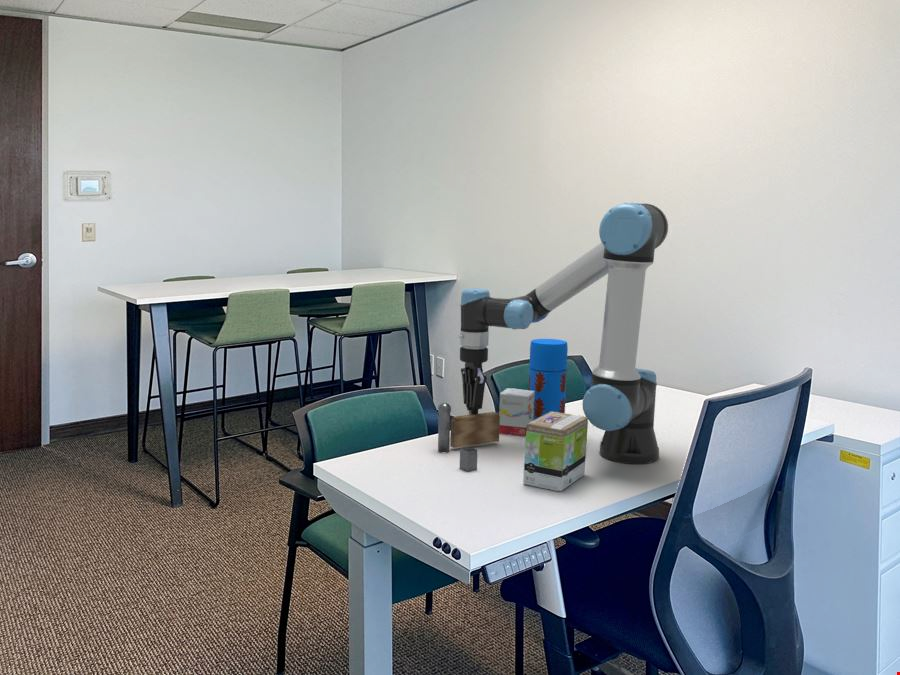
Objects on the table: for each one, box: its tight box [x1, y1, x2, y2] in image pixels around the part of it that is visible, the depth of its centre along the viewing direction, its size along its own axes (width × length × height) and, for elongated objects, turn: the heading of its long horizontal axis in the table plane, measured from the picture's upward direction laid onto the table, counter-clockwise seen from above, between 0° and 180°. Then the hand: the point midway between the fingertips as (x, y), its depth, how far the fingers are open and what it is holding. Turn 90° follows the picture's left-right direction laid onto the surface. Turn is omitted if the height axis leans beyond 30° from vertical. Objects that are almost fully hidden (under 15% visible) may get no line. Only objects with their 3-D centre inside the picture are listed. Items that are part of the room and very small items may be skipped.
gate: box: [450, 411, 500, 449], centre depth 217 cm, size 14×2×8 cm, turn 119°
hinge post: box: [437, 402, 452, 453], centre depth 212 cm, size 3×3×13 cm
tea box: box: [522, 411, 589, 492], centre depth 191 cm, size 15×10×15 cm
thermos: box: [528, 338, 569, 420], centre depth 239 cm, size 11×11×25 cm
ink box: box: [498, 387, 535, 437], centre depth 232 cm, size 9×9×12 cm
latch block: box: [459, 446, 479, 473], centre depth 198 cm, size 3×3×5 cm
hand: (472, 432), depth 221 cm, fingers closed
